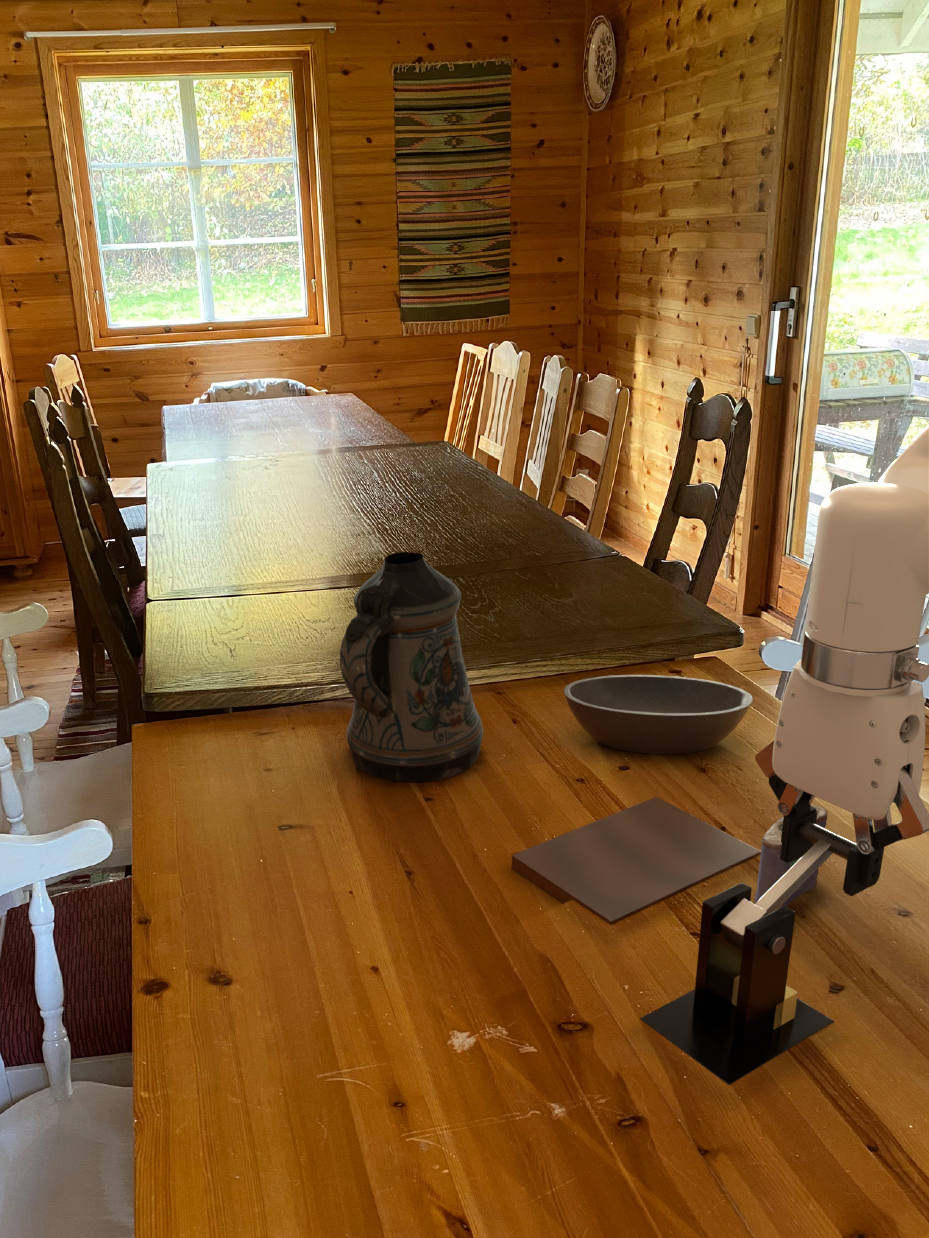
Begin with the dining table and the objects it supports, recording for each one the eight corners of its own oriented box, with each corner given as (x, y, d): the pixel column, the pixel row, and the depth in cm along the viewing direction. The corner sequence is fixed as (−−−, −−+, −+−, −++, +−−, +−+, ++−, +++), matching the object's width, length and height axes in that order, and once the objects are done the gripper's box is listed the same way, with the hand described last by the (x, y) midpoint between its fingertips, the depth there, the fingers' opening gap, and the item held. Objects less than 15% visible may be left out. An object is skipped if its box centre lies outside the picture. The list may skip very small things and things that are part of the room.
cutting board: (655, 808, 120) (656, 796, 119) (759, 864, 109) (761, 851, 108) (511, 868, 110) (511, 855, 110) (610, 935, 99) (611, 921, 99)
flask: (771, 933, 98) (784, 829, 94) (742, 920, 100) (753, 817, 96) (821, 892, 104) (836, 791, 100) (792, 880, 106) (805, 781, 102)
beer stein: (485, 725, 141) (484, 535, 131) (478, 799, 124) (476, 586, 114) (358, 723, 144) (348, 536, 134) (333, 795, 126) (319, 586, 116)
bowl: (565, 716, 143) (566, 671, 140) (743, 724, 138) (747, 678, 136) (559, 758, 132) (560, 710, 129) (752, 768, 127) (757, 719, 125)
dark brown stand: (741, 974, 93) (754, 855, 89) (832, 1033, 86) (852, 907, 82) (638, 1030, 88) (646, 905, 83) (727, 1098, 81) (742, 966, 76)
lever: (811, 833, 89) (807, 812, 87) (867, 859, 85) (862, 839, 83) (711, 932, 85) (704, 913, 84) (764, 965, 81) (758, 945, 80)
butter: (743, 985, 90) (746, 960, 89) (794, 1018, 86) (798, 992, 85) (721, 997, 89) (724, 971, 88) (772, 1031, 85) (775, 1005, 84)
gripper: (1002, 681, 75) (957, 906, 82) (792, 616, 88) (769, 815, 95) (936, 709, 71) (895, 942, 78) (728, 637, 85) (709, 842, 92)
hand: (826, 870), depth 87 cm, fingers closed on lever, 5 cm apart
